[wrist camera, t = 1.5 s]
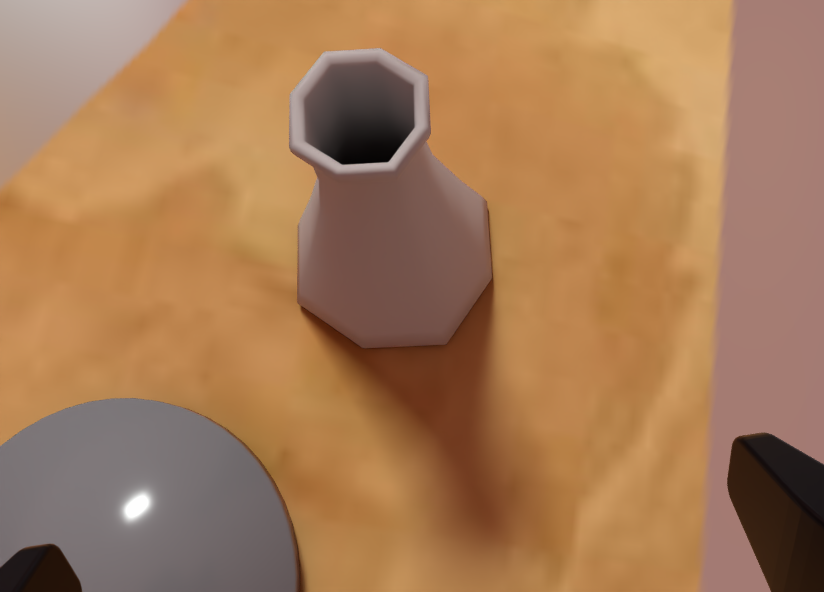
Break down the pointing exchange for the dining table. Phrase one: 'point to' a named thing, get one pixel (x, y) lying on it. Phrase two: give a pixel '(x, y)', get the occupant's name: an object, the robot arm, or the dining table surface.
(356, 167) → the flask
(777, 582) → the robot arm
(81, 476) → the slate coaster
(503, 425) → the dining table surface
